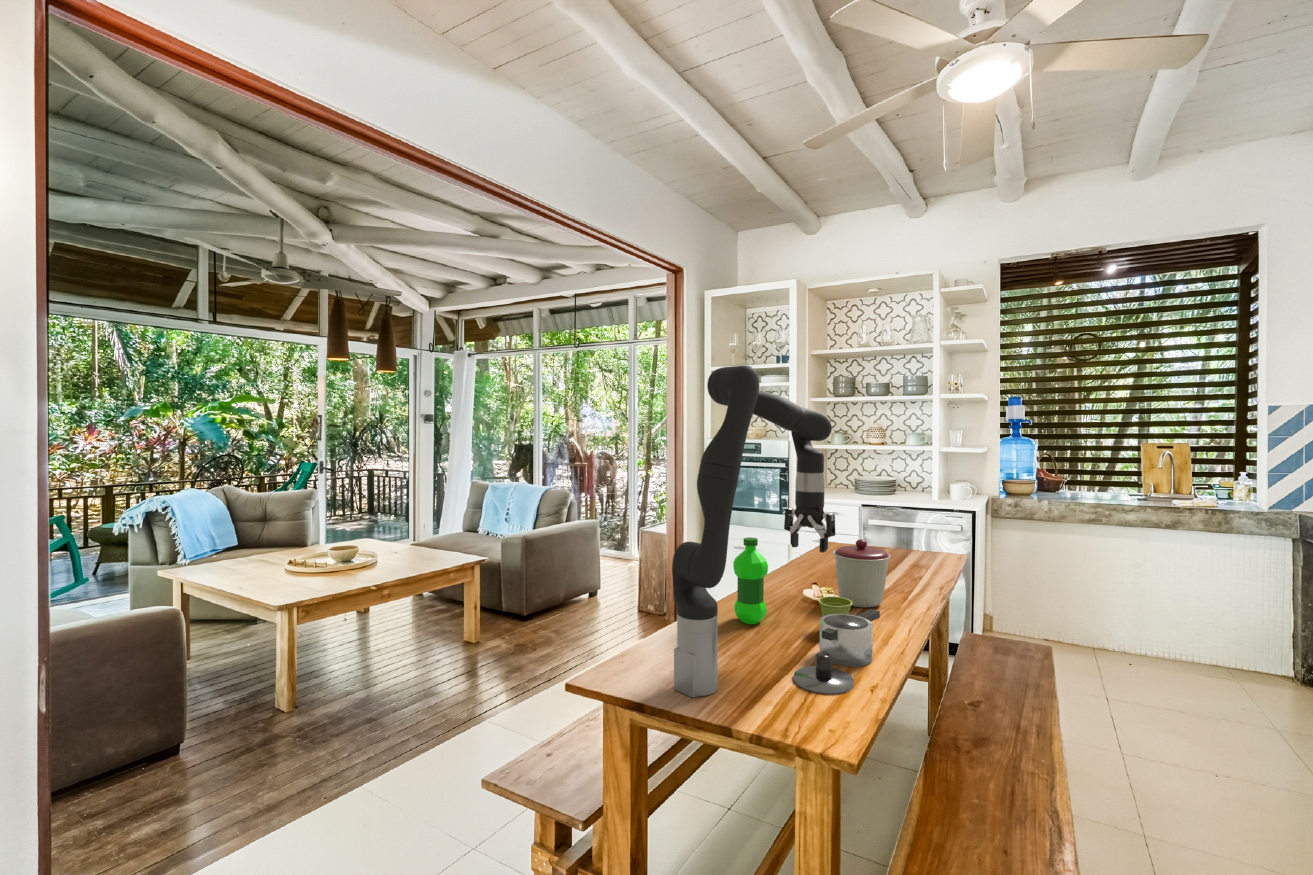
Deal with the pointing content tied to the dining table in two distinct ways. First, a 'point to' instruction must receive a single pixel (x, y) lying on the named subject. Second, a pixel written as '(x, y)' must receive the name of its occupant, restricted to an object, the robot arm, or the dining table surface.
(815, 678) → the lid
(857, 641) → the cooker pot
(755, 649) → the dining table surface
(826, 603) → the plant pot
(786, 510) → the robot arm
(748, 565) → the plastic bottle
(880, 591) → the canister
